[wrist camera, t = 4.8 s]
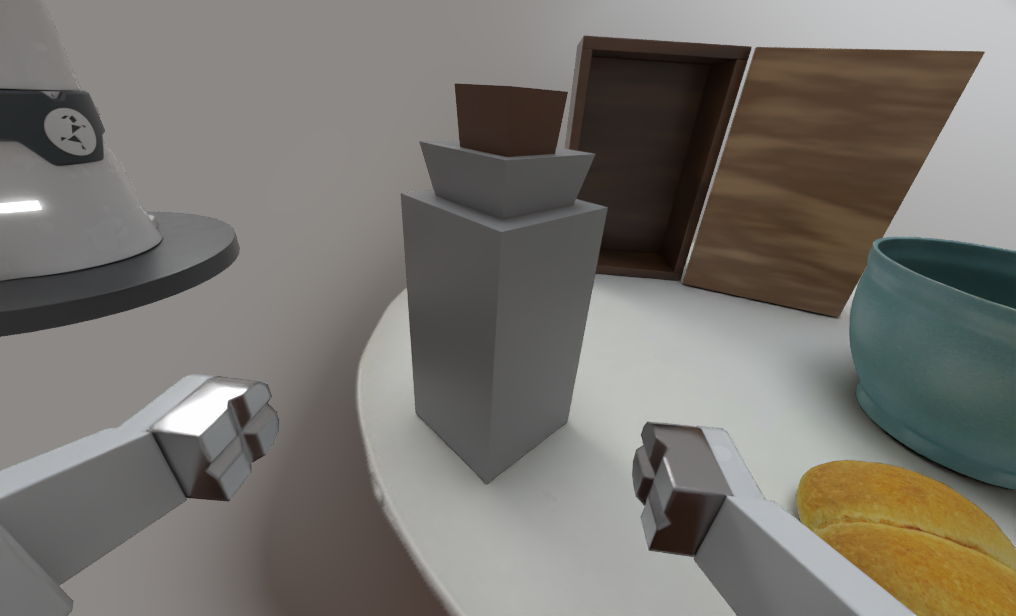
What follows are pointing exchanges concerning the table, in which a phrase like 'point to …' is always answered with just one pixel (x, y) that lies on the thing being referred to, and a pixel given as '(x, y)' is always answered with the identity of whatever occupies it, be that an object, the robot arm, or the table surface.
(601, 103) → the cupboard
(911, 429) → the flower pot
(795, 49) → the cupboard door
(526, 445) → the perfume bottle
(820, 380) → the table surface
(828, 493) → the bread roll
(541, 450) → the table surface
